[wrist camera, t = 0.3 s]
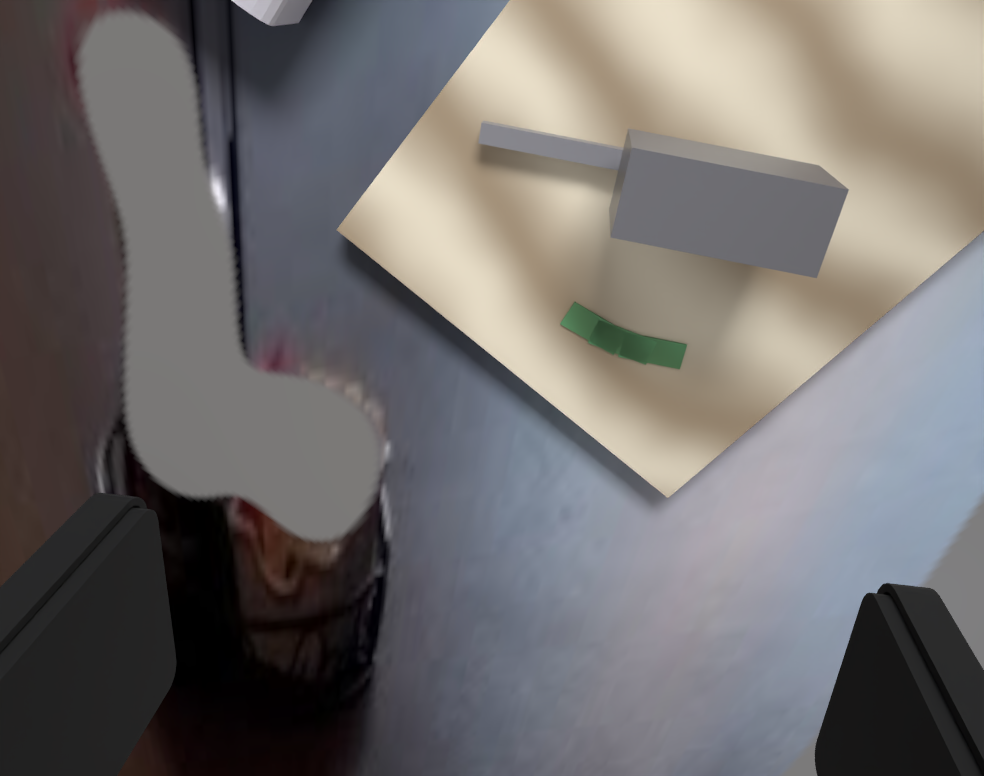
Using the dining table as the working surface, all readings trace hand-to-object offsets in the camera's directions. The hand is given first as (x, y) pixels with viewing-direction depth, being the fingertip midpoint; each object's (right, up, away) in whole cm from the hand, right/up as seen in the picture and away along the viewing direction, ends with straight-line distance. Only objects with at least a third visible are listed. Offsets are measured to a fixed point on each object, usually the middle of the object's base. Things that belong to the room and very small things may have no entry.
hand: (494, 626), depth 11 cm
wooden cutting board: (+9, +13, +24) cm, 29 cm away
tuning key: (+6, +12, +22) cm, 26 cm away
